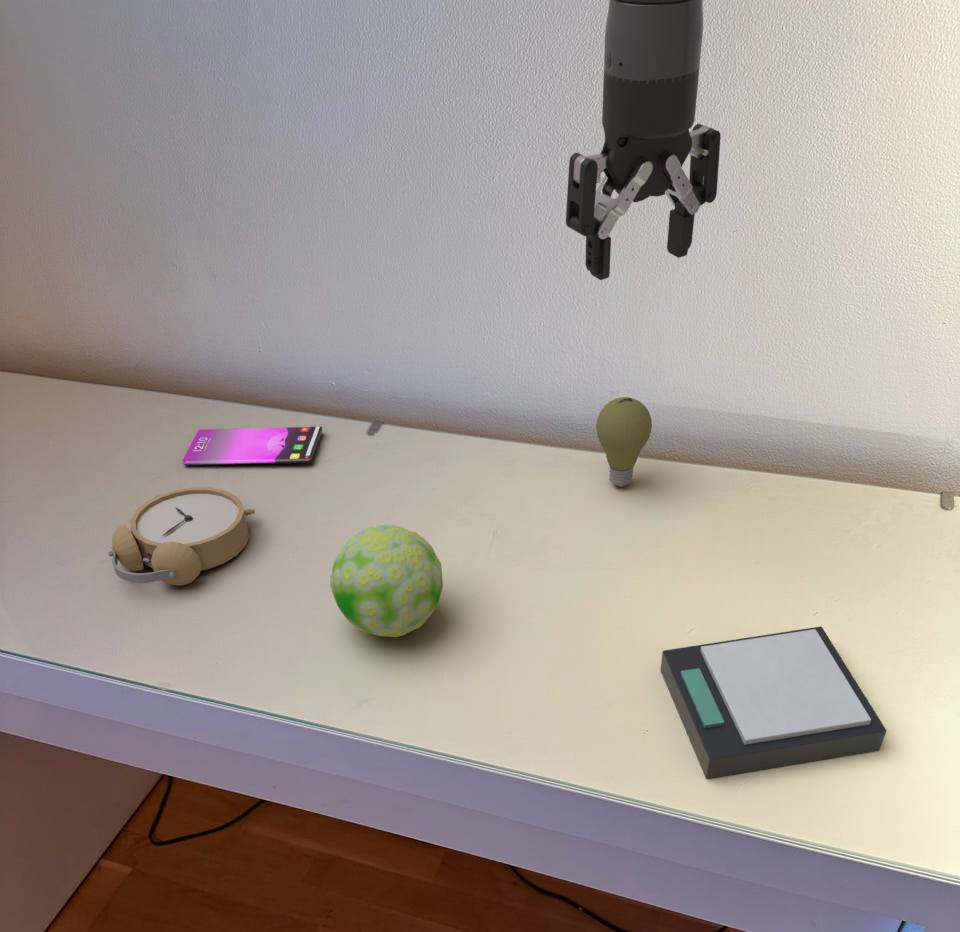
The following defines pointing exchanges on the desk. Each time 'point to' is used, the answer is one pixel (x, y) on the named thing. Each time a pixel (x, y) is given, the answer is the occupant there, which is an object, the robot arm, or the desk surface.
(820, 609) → the desk surface
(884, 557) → the desk surface
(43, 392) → the desk surface
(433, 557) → the decorative ball
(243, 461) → the smartphone
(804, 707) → the scale
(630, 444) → the light bulb
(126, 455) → the desk surface
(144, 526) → the alarm clock
